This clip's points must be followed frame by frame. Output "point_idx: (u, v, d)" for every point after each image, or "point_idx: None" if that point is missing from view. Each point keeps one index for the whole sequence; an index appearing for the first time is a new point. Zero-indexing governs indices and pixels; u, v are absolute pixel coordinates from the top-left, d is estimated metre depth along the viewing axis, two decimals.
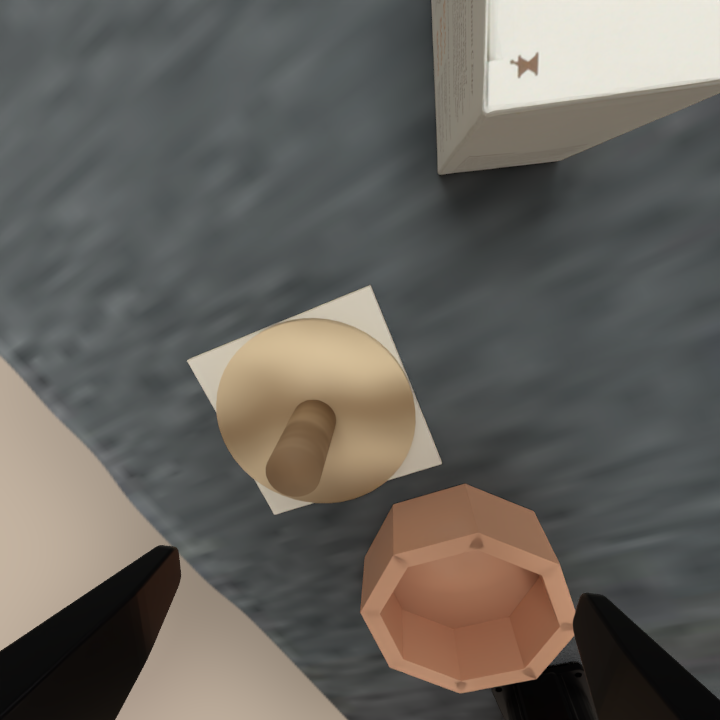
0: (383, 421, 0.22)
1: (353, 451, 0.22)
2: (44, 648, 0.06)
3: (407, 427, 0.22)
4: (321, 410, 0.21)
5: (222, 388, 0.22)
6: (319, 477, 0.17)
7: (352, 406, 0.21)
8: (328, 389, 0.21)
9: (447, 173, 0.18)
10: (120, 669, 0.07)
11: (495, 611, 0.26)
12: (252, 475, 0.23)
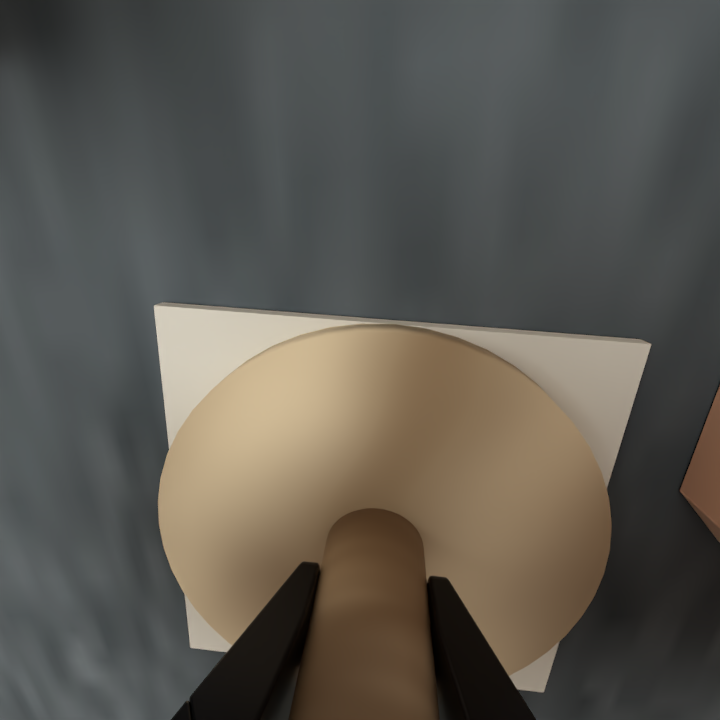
0: (451, 427, 0.09)
1: (488, 518, 0.09)
2: (248, 674, 0.06)
3: (496, 383, 0.08)
4: (342, 544, 0.09)
5: None
6: None
7: (382, 469, 0.09)
8: (321, 492, 0.09)
9: None
10: None
11: None
12: None
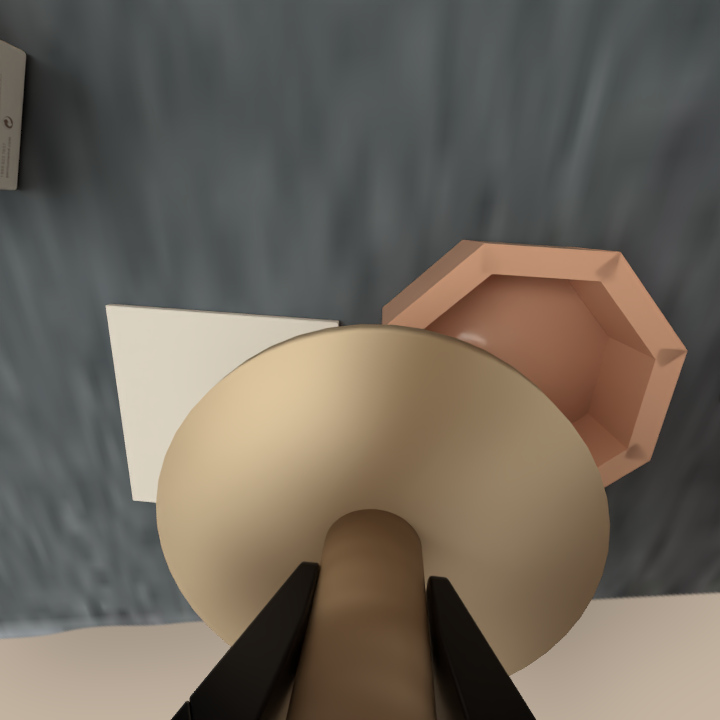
0: (449, 428, 0.09)
1: (486, 518, 0.09)
2: (248, 675, 0.06)
3: (494, 384, 0.08)
4: (340, 545, 0.09)
5: None
6: None
7: (380, 470, 0.09)
8: (320, 493, 0.09)
9: (9, 181, 0.17)
10: None
11: (589, 350, 0.18)
12: None
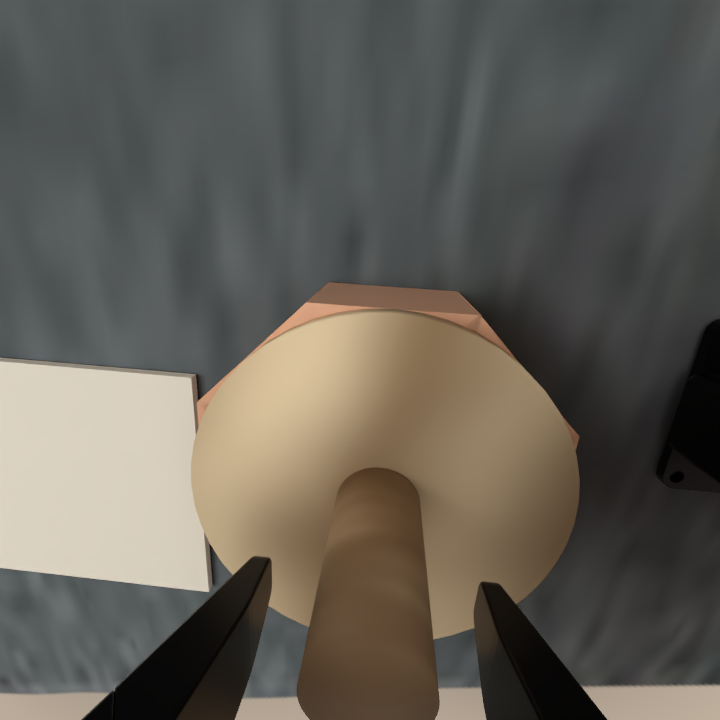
0: (443, 396, 0.10)
1: (475, 474, 0.11)
2: (178, 665, 0.06)
3: (480, 357, 0.10)
4: (350, 494, 0.10)
5: None
6: (407, 660, 0.06)
7: (384, 433, 0.11)
8: (333, 454, 0.11)
9: None
10: (234, 684, 0.07)
11: None
12: None
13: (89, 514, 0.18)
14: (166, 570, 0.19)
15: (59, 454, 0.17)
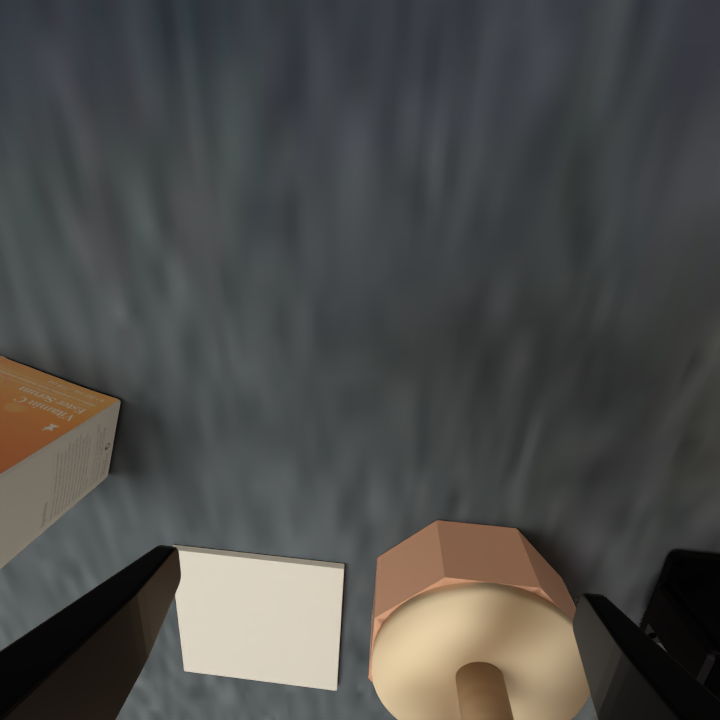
0: (520, 632, 0.19)
1: (535, 667, 0.20)
2: (44, 648, 0.06)
3: (542, 616, 0.19)
4: (471, 684, 0.19)
5: None
6: None
7: (486, 646, 0.20)
8: (456, 654, 0.20)
9: (104, 475, 0.23)
10: (120, 669, 0.07)
11: None
12: None
13: (261, 642, 0.27)
14: (308, 676, 0.28)
15: (247, 607, 0.26)
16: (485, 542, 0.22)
